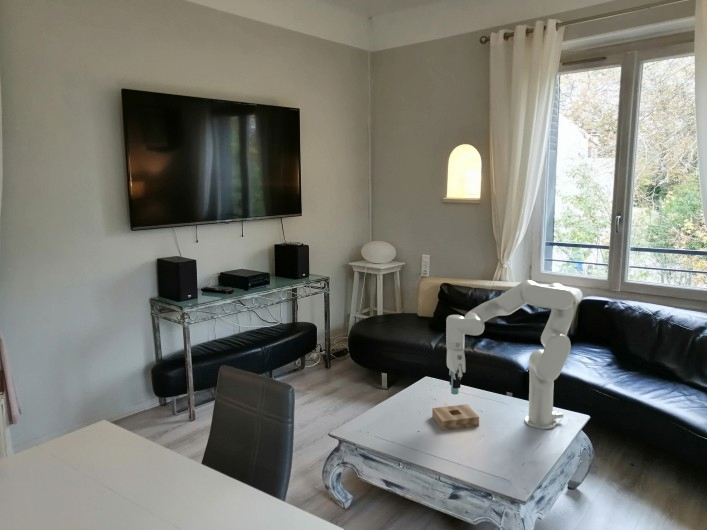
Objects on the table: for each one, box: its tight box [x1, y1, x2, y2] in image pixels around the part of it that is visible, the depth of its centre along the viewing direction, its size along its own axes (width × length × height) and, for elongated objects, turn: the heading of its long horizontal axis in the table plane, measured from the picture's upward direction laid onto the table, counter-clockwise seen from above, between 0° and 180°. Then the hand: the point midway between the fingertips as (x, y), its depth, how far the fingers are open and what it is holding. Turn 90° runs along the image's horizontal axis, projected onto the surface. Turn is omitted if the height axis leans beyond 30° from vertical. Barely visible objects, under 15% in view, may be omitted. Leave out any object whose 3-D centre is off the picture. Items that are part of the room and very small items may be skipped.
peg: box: [450, 371, 459, 395], centre depth 228 cm, size 3×3×10 cm
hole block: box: [431, 403, 480, 431], centre depth 231 cm, size 16×13×4 cm
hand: (454, 385), depth 228 cm, fingers closed on peg, 3 cm apart
